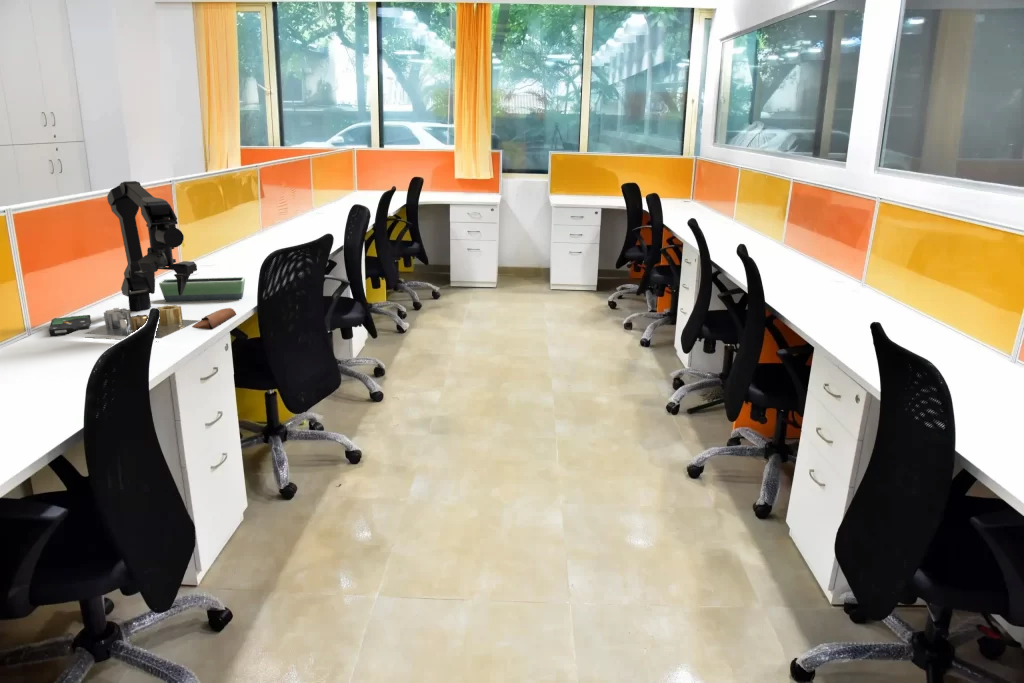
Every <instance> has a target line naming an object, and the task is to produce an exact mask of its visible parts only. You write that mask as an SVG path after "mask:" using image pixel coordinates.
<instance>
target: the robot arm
mask: <svg viewBox="0 0 1024 683" xmlns="http://www.w3.org/2000/svg"><path fill="white" fill-rule="evenodd" d="M106 198H107V204H108V205H109V206H110V209H111V212H112V213H113V214H114V215H115V217H117V219H118V220H119V226H120V230H121V236H122V241H123V246H124V250H125V251H124V253H125V258H126V261H127V265H126V267H125V270H124V272H123V275H124V278H123V281H122V284H121V288H120V289H121V293H122V295H124V296H125V297H127V298H128V307H129V310H130V312H142V311H148V310H150V309H151V307H152V304H151V297H150V296H151V295H153V294H155V293H156V292H155V291H156V277H155V275H156V274H155V273H156V272H158V271H159V270H166V271H174V272H175V274H173V276H174V277H175V279H177V286H178V293H179V295H182V294H183V291H184V288H185V285H186V283H187V280H188V279H190V277H191V275H192V274H194V272H197V271H198V266H197V263H196V262H194V261H185V260H184V261H180V262H177V261H176V260H177V259H176V258H174V256H173V250H175V248H178V247H180V246H181V245H182V244H183V242H184V238H185V236H184V234H183V232H182V231H181V230H180V228H178V227H176V225H178V217H177V215H176V214H175V212H174V210H173V208H172V205H171V204H170V203H169V202H168V201H167V200H165V199H163V198H160V197H155V196H153V195H152V194H151V193H150V192H148V190H146V189H145V188H144V187H143V186H142V185H141V183H140V181H136V180H132V181H129V180H128V181H123V182H120V183H119V184H118V185H117V186H116V187H114V188H111V189H110V190H109V192H108V193H107V197H106ZM139 210H140V214H141V216H142V218H143V220H144V221H145V222H146V225H145V226H146V227H147V230H148V239H149V245H150V246H149V247H147V249H146V250H147V253H146V255H143V250H142V246H141V241H140V235H139V230H138V226H137V220H136V217H137V214H138V213H139ZM176 262H177V263H176ZM150 294H151V295H150Z"/></svg>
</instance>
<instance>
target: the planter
mask: <svg viewBox="0 0 1024 683" xmlns="http://www.w3.org/2000/svg"><path fill="white" fill-rule="evenodd" d="M245 283H246V278H245V277H244V276H238V277H237V276H234V277H232V276H230V277H229V276H228V277H201V278H200V277H199V278H197V277H196V278H195V277H194V278H192V277H191V278H188V280H187V283H186V285H185V288H184V291H183V294H182V295H179V293H178V286H177V279H176V278H168V279H167V278H166V279H162V280H161V281H160V282H159V288H160V291H161V294H162V296H163V299H164V301H165V303H182V302H184V303H185V302H186V303H187V302H209V301H210V302H211V301H212V302H214V301H236V300H237V301H240V300H239V299H241V300H242V299H243V297H244V291H245V285H246V284H245Z"/></svg>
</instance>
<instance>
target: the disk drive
mask: <svg viewBox="0 0 1024 683" xmlns="http://www.w3.org/2000/svg"><path fill="white" fill-rule="evenodd" d="M91 325H92V319H91V315H90V314H84V315H74V316H67V317H66V316H65V317H54V318H52V319H51V322H50V324H49V327H48V334H49V337H50V338H51V337H52V338H53V337H61V336H62V337H63V336H67V335H70V334H73V333H76V332H78V331H83V330H90V328H91Z"/></svg>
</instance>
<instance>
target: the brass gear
mask: <svg viewBox="0 0 1024 683" xmlns="http://www.w3.org/2000/svg"><path fill="white" fill-rule="evenodd" d="M157 309H159V310H160V319H159V323H161V324H164V325H165V324H175V323H180V322H182V320H184V319H183V313H182V306H181V305H177V304H176V305H175V304H174V305H164V306H158V307H157Z"/></svg>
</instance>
